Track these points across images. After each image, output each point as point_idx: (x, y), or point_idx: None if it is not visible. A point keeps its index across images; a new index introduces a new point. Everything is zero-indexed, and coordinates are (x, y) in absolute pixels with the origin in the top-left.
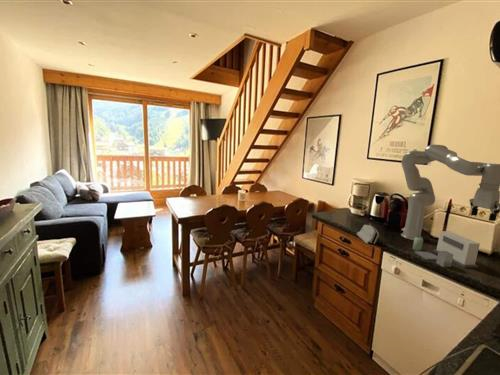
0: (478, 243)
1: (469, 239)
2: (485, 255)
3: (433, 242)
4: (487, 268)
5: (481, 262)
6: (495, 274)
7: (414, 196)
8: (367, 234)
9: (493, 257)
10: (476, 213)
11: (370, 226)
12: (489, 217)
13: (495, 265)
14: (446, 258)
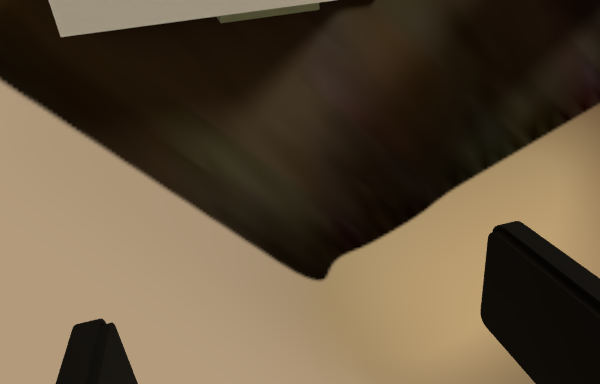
0: (62, 22)
1: (202, 16)
2: (340, 251)
3: (541, 28)
4: (116, 108)
5: (219, 142)
6: (12, 88)
7: None
8: None
9: (317, 277)
10: (507, 332)
11: None
12: (84, 371)
13: (190, 204)
14: None
